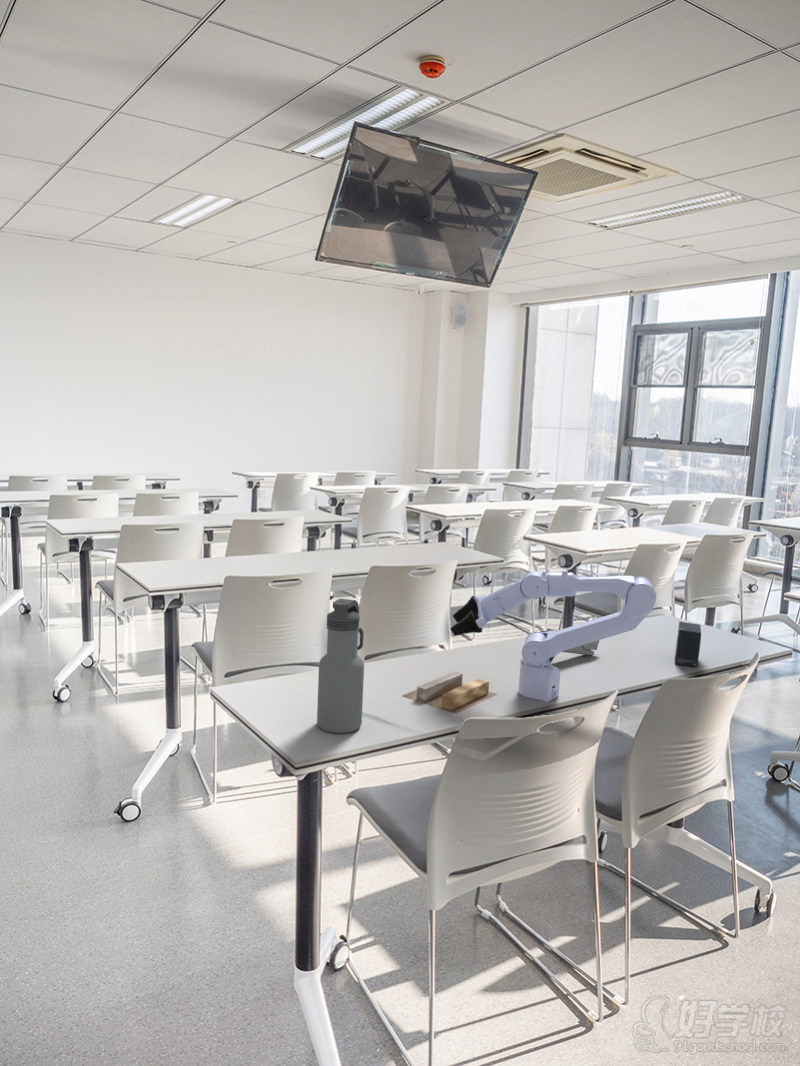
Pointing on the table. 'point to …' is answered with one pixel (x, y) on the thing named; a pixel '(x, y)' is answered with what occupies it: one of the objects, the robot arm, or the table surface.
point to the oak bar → (465, 694)
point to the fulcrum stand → (435, 689)
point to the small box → (688, 644)
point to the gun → (579, 647)
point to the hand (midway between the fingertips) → (453, 625)
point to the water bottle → (341, 671)
